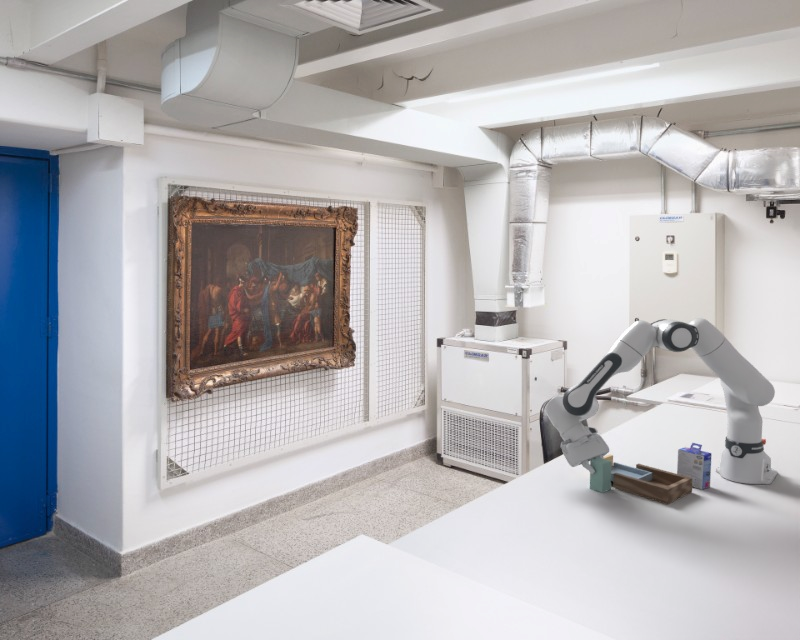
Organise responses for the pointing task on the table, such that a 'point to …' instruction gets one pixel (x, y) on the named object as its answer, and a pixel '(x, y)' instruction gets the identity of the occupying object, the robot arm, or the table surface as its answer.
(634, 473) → the tray
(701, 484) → the ink cartridge box
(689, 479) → the dock
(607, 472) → the block
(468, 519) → the table surface
